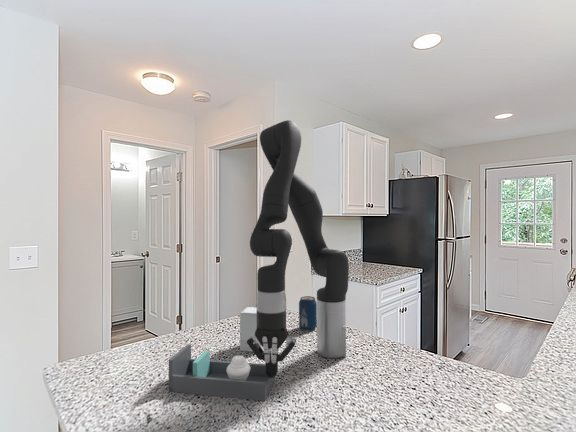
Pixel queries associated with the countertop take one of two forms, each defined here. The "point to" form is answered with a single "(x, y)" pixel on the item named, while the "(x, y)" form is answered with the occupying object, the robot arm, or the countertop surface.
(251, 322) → the supplement box
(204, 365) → the teal flat slab
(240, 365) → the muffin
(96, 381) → the countertop surface
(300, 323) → the soda can
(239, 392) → the pusher lane
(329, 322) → the robot arm
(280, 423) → the countertop surface
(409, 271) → the countertop surface
